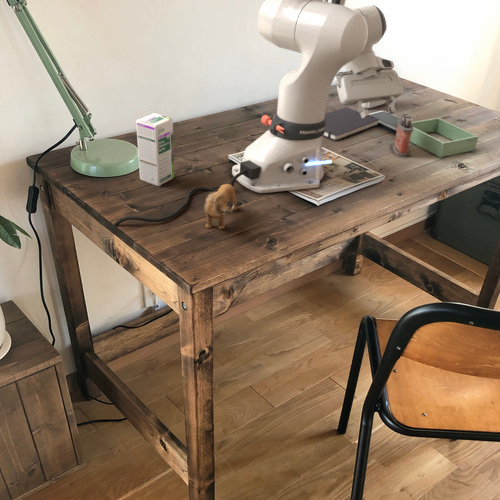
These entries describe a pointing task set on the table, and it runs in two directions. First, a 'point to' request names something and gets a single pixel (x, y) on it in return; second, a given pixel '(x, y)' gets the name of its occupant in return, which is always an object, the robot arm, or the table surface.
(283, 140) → the robot arm
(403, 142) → the lighter
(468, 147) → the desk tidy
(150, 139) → the syrup box
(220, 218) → the tan animal figure
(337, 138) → the notebook
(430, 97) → the table surface
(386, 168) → the table surface
